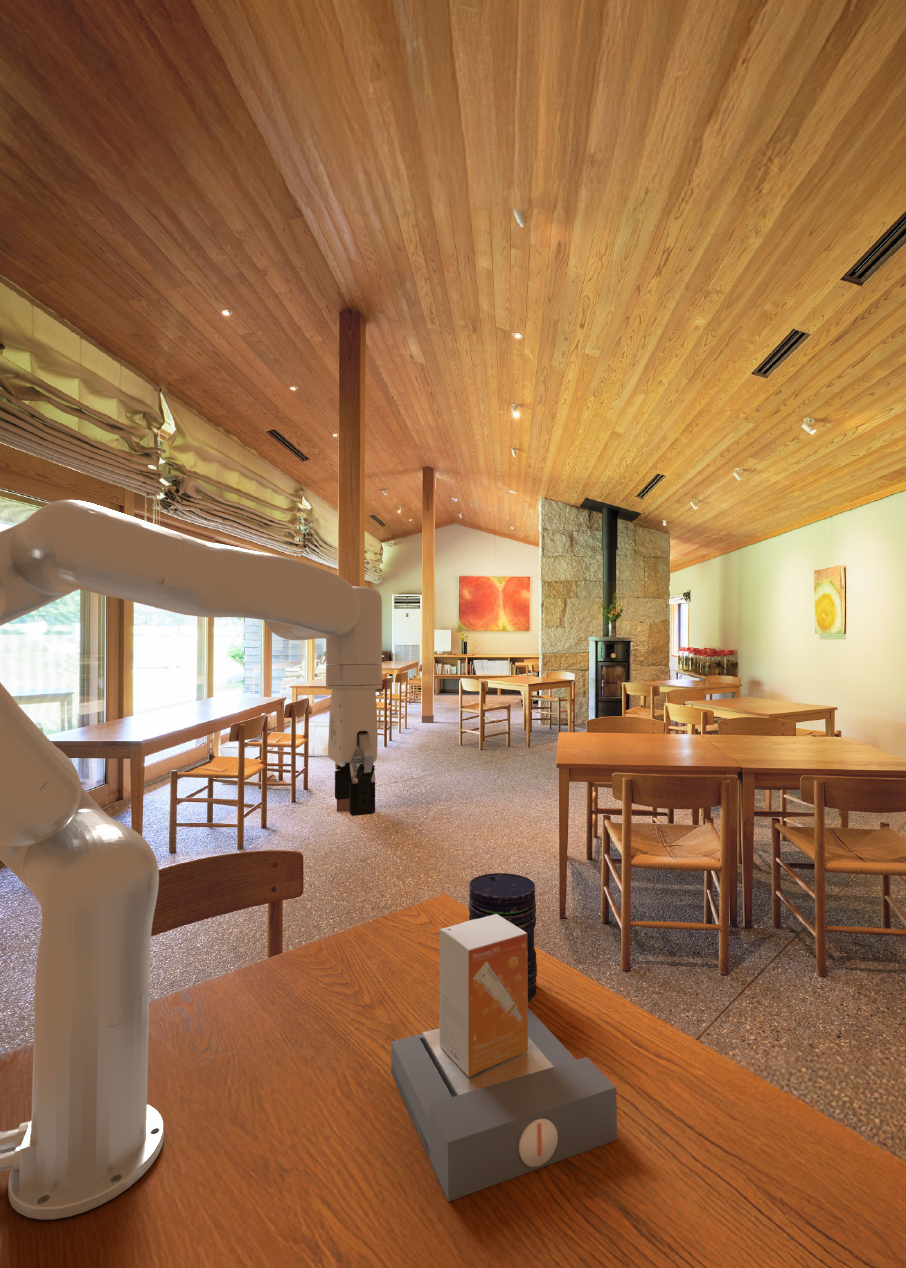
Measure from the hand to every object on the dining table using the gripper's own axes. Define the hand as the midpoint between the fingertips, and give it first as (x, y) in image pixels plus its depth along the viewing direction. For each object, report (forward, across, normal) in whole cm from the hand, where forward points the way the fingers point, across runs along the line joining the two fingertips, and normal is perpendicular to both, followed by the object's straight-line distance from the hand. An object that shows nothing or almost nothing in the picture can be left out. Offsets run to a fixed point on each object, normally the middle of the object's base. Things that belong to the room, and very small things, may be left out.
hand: (353, 806), depth 80 cm
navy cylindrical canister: (+28, 0, +22) cm, 36 cm away
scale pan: (+27, +17, +11) cm, 34 cm away
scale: (+28, +20, +11) cm, 36 cm away
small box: (+24, +18, +11) cm, 32 cm away
